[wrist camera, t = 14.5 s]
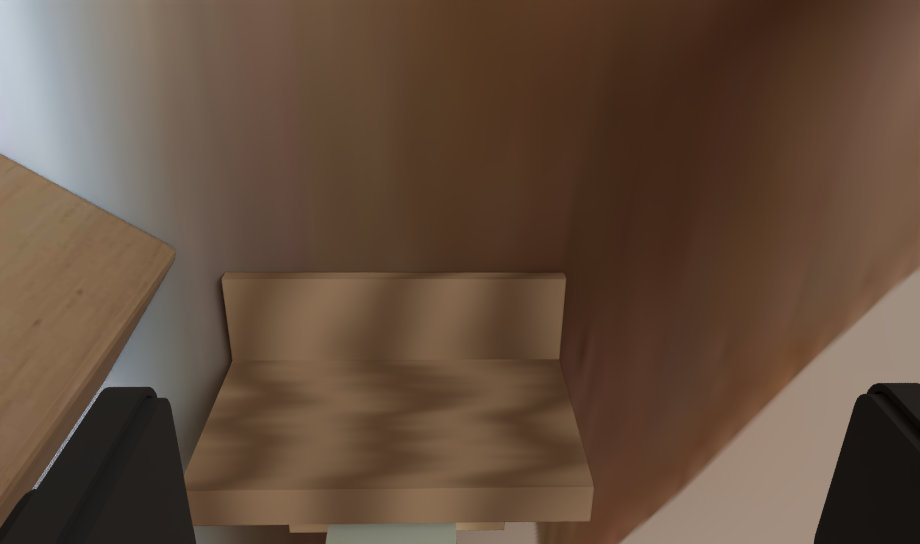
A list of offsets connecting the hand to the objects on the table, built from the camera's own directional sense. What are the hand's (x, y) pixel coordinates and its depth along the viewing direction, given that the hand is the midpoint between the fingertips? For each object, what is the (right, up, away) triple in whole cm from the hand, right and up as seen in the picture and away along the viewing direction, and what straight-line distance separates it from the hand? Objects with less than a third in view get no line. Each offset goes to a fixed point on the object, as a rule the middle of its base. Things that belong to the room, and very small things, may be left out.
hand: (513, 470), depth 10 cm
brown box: (-4, -3, +33) cm, 33 cm away
